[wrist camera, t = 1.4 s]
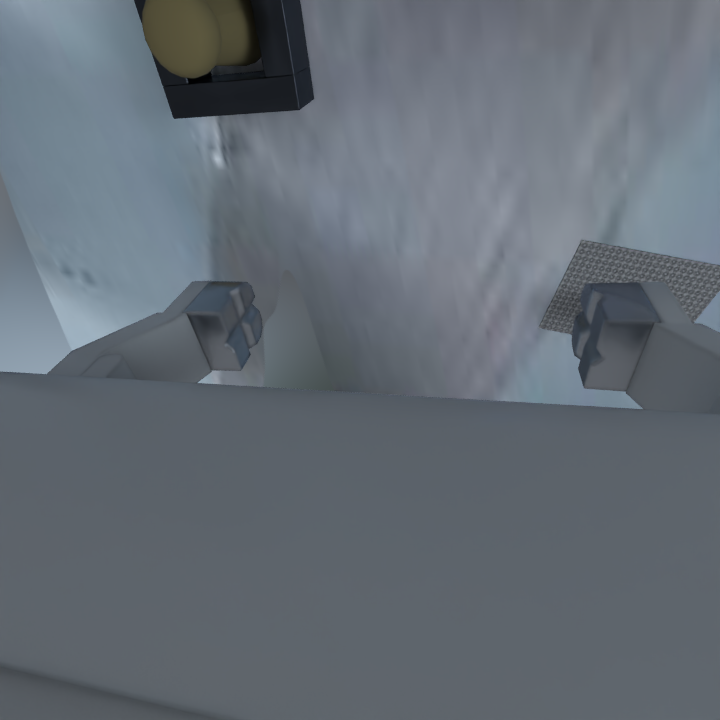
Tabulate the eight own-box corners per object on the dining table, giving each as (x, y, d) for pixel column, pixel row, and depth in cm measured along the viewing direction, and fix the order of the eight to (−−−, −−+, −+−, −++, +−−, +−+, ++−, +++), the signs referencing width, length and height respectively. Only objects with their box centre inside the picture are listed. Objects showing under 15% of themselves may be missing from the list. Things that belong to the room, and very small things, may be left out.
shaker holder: (145, -64, 34) (110, -68, 31) (287, -88, 32) (266, -96, 28) (196, 107, 42) (173, 119, 39) (314, 99, 39) (300, 110, 36)
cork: (216, 70, 39) (150, 93, 31) (191, -18, 36) (109, -16, 27) (277, 61, 38) (225, 84, 30) (258, -30, 34) (193, -33, 26)
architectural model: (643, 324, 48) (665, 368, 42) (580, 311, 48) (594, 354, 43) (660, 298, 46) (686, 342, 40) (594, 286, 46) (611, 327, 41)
